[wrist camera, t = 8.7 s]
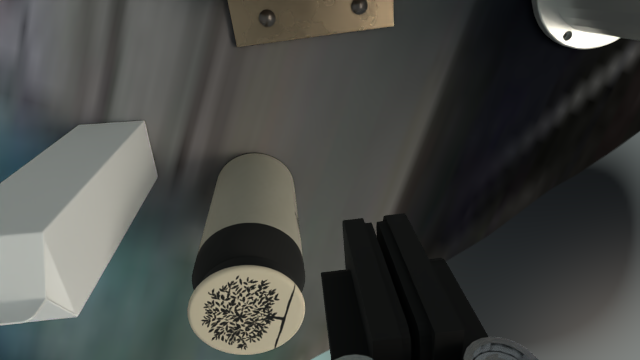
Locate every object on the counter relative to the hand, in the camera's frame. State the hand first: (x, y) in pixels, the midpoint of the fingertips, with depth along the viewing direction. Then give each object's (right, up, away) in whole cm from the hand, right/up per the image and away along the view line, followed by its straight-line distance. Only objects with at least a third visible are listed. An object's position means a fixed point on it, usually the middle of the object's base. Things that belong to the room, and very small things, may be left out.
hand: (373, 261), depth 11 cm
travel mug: (-8, +2, +31) cm, 32 cm away
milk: (-21, +5, +28) cm, 35 cm away
